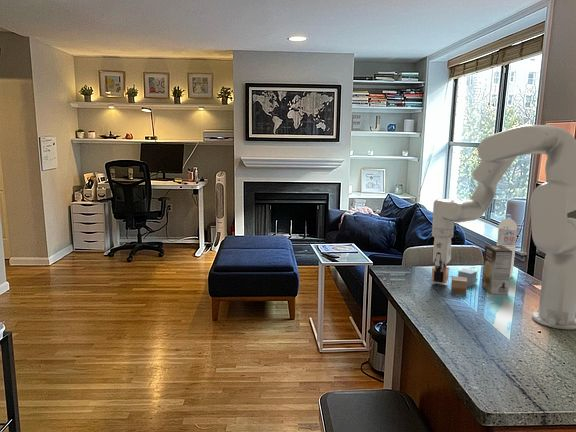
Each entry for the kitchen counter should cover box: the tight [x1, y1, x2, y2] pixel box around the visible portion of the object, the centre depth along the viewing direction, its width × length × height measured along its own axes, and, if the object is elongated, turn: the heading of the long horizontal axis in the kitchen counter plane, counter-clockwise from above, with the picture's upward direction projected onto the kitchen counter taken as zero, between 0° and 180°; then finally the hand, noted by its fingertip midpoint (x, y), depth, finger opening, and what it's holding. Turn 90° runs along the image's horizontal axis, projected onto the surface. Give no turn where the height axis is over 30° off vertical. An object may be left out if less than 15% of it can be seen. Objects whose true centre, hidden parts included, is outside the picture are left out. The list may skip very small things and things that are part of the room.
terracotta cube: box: [431, 265, 450, 284], centre depth 167 cm, size 5×5×5 cm
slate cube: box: [457, 268, 478, 287], centre depth 170 cm, size 5×5×5 cm
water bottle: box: [496, 213, 518, 277], centre depth 180 cm, size 7×7×25 cm
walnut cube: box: [450, 275, 468, 296], centre depth 160 cm, size 5×5×5 cm
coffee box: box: [481, 244, 513, 295], centre depth 161 cm, size 9×6×16 cm
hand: (439, 279), depth 168 cm, fingers closed on terracotta cube, 5 cm apart
